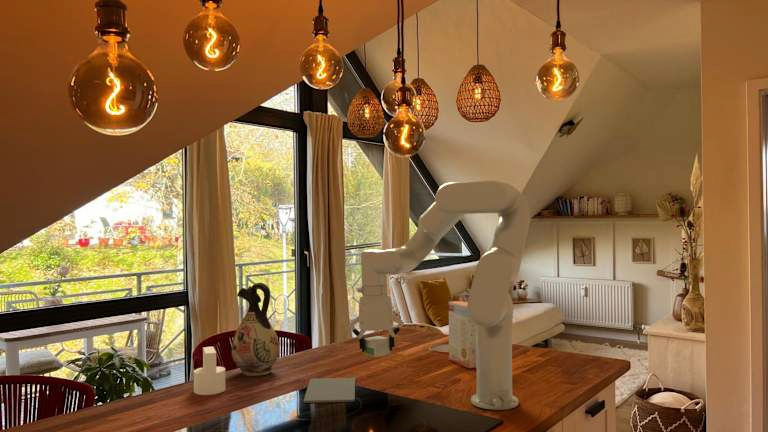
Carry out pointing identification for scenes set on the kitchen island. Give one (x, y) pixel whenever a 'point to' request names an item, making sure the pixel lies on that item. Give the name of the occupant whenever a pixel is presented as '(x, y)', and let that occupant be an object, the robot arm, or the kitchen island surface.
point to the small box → (377, 346)
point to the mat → (330, 390)
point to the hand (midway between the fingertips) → (377, 350)
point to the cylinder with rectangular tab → (209, 375)
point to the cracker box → (461, 335)
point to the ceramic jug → (255, 335)
